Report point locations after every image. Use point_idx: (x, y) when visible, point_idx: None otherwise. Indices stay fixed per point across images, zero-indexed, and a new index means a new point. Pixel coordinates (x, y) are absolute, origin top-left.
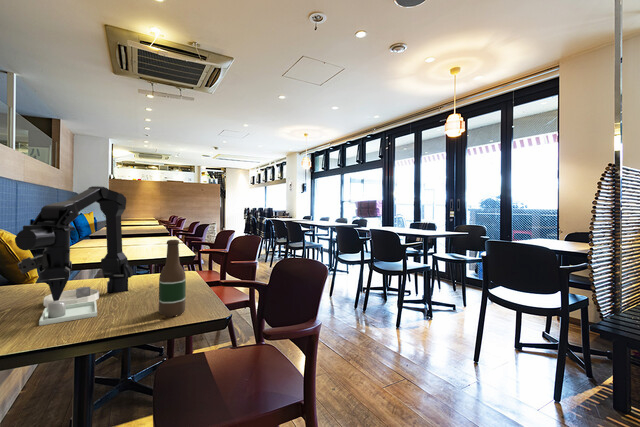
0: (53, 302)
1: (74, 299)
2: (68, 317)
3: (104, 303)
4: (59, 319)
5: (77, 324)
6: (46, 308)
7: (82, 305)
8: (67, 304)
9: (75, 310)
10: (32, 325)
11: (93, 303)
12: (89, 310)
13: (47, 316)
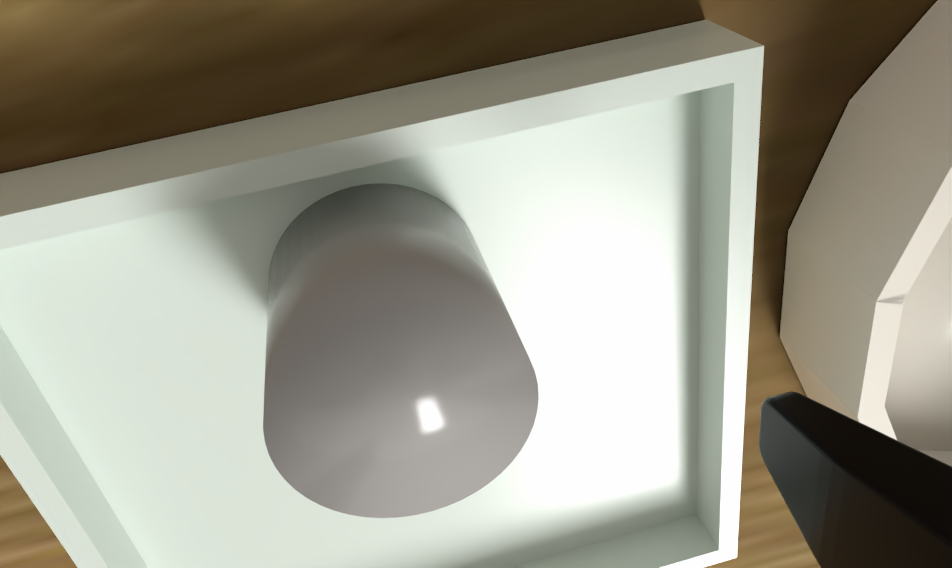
0: (469, 353)
1: (861, 387)
2: (56, 524)
3: (783, 529)
4: (11, 443)
5: (15, 552)
6: (706, 86)
7: (707, 436)
8: (829, 281)
9: (549, 411)
10: (116, 34)
11: (708, 523)
12: (470, 542)
13: (402, 164)
